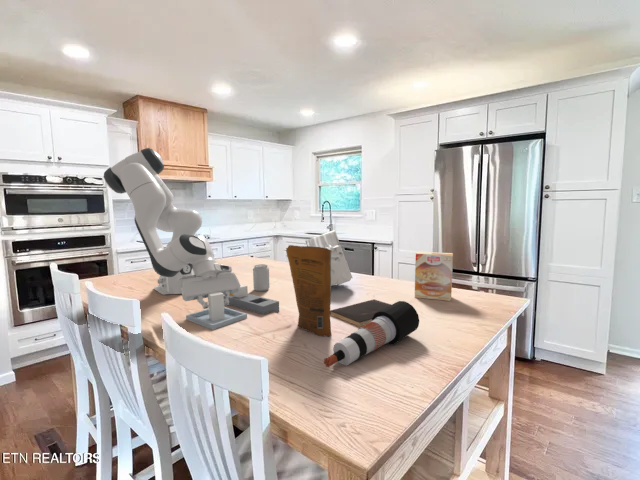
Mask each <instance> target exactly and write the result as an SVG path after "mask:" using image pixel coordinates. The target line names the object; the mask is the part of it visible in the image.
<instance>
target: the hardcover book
mask: <svg viewBox="0 0 640 480" xmlns="http://www.w3.org/2000/svg"><path fill="white" fill-rule="evenodd" d="M390 305H392V304H391V303H387V302H384V301H381V300H377V299H371V300H367V301H362V302H358V303H354V304H350V305H346V306H342V307H339V308H334V309H330V316H333V317H336V318H338V319H340V320H343V321H345V322H347V323H350V324H353V325H355V326H357V327H362V326H364V325H366V324H368V323H370V322H371V321H372V318H373V316H374V314H375V313H377V312H379V311H381V310H383V309H385V308H387V307H388V306H390Z"/></svg>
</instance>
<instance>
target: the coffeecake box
mask: <svg viewBox="0 0 640 480" xmlns="http://www.w3.org/2000/svg"><path fill="white" fill-rule="evenodd" d="M453 260H454V253H453V252H438V251H437V252H436V251H435V252H434V251H433V252H432V251H416V252H415V267H414V271H415V273H414V298H418V299H425V300H429V299H430V300H437V301H447V302H451V301H452V289H453V286H452V285H453V263H454V261H453Z"/></svg>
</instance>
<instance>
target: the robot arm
mask: <svg viewBox="0 0 640 480" xmlns="http://www.w3.org/2000/svg"><path fill="white" fill-rule="evenodd" d="M164 169H165V164H164V160H163V158H162V156H161V155H160V154H159V152H157V151H155V150H154V149H152V148H150V147H146V148H143V149H141V150H140V151H138V152H135V153H132V154H131V155H128V156H126V157H125V158H124V159H121V160H120V161H119V162H117V163H115V164H114V165H113V166H110V167H108V168H107V169H106V170H104V172H103V179H104V181H105V184H106V185H107V187H108V188H109V189H111V191H114V192H115V193H116V194H125V193H126V194H127V196H128V197H129V199H130V201H131V202H132V205H133V208H134V219H133V220H134V224H135V226H136V228H137V232H138V234H139V235H140V238H141V240H142V242H143V245H144V247H145V249H146V251H147V253H148V255H149V258H150V261H151V266H152V268H153V271H154V272H155V273H156V274H158V276H159V277H158V279H157V283H158V285H156V286H154V287H153V290H154V291H156V292H157V293H159V294H161V295H162V296H163V295H181V297H182V300H183V301H184V302H190V301H195V300H197V302H198V303H199V304H200V305H201V306H202V309H203V310H206V309H208V301H204V300H203V299H208V294H209V293H216V292H221V293H223V294H224V296H225V297H226V299H224V306H227V305H229V299H228V298H229V295H230V294H233V293H237V292H238V291H239V289H240V285H241V283H240V280H239V278H238V276H237V275H236V273H234V272H233V268H232V266H230V265H226V264H222V263H221V264H220V263H217V261H216V259H215V254H214V251H213V248H212V246H211V244H210V241H208V239H207V238H206V237H205V236H203V235H199V234H198V235H196V234H197V232H198V231H199V230H200V229H201V227H202V223H203V220H202V219H203V218H202V216H201V213H199V212H198V211H196V210H193V209H189V208H178V207H175V205H174V204H173V203H174V202H173V201H174V194H173V193H172V191H171V190H170V189H169V187H168V185H166V183H165V182H164V181H163V180H162V178H161V177H160V176H159V175H160V174H161V173H162V172H163V171H164ZM157 230H159V231H163V232H166V233H172V237H171V239H170V241H169V242H168V243H167V244H166V246H165V247H164V245H163V243H162V240H161V238H160V236H159V234H158V231H157Z"/></svg>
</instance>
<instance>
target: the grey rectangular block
mask: <svg viewBox="0 0 640 480" xmlns="http://www.w3.org/2000/svg"><path fill="white" fill-rule="evenodd" d="M207 302H208V308H207V309H209V319H210V320H211V321H216V320H221V319H225V317H224V307H225V305H224V294H223V293H221V292H216V293H209V294H208V298H207Z"/></svg>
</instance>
